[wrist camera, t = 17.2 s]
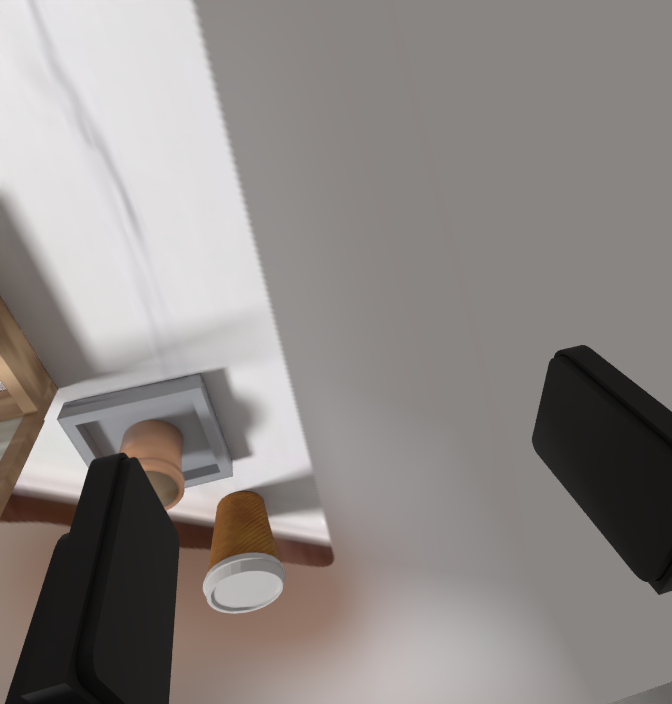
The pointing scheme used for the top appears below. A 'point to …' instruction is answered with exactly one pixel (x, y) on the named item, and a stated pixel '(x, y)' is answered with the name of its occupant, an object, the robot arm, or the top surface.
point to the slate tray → (153, 404)
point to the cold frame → (19, 401)
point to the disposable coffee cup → (242, 557)
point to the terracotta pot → (158, 457)
